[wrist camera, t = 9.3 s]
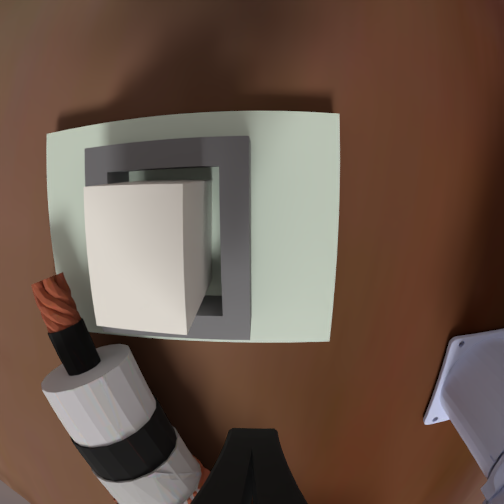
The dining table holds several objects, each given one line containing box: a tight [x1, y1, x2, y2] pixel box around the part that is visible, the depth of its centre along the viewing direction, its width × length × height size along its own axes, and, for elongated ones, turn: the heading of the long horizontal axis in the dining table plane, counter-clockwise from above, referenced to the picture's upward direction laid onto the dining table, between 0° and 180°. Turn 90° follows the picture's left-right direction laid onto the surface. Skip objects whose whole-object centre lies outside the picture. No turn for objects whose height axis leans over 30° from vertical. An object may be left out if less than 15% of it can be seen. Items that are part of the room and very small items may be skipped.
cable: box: [31, 272, 210, 504], centre depth 17 cm, size 10×34×10 cm, turn 16°
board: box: [47, 111, 340, 342], centre depth 15 cm, size 16×12×4 cm
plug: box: [84, 180, 212, 335], centre depth 13 cm, size 4×5×6 cm
